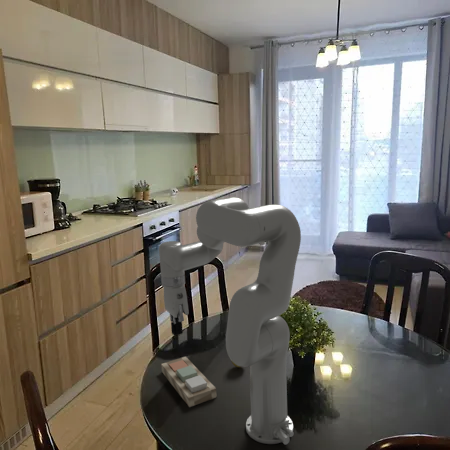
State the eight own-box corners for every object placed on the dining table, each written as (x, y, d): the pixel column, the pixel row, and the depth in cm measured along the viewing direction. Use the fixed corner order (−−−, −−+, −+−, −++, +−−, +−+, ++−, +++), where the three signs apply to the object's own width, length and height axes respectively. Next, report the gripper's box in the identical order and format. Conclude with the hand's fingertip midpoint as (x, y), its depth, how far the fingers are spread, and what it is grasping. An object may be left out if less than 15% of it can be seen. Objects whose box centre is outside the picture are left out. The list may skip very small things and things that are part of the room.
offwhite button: (207, 390, 125) (206, 382, 125) (192, 396, 123) (191, 387, 123) (200, 383, 130) (199, 375, 129) (185, 387, 127) (185, 379, 127)
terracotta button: (189, 373, 138) (188, 366, 137) (175, 378, 135) (174, 370, 135) (183, 367, 142) (182, 360, 142) (169, 371, 140) (169, 364, 139)
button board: (216, 397, 125) (216, 388, 124) (189, 407, 121) (188, 397, 120) (186, 364, 145) (185, 356, 144) (162, 371, 141) (161, 363, 140)
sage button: (197, 380, 131) (197, 372, 131) (183, 384, 129) (182, 377, 129) (191, 372, 136) (190, 365, 135) (177, 377, 133) (176, 369, 133)
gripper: (193, 283, 127) (197, 339, 131) (175, 272, 140) (179, 323, 144) (170, 288, 124) (175, 345, 127) (154, 276, 137) (158, 328, 140)
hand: (177, 333), depth 135 cm, fingers closed
